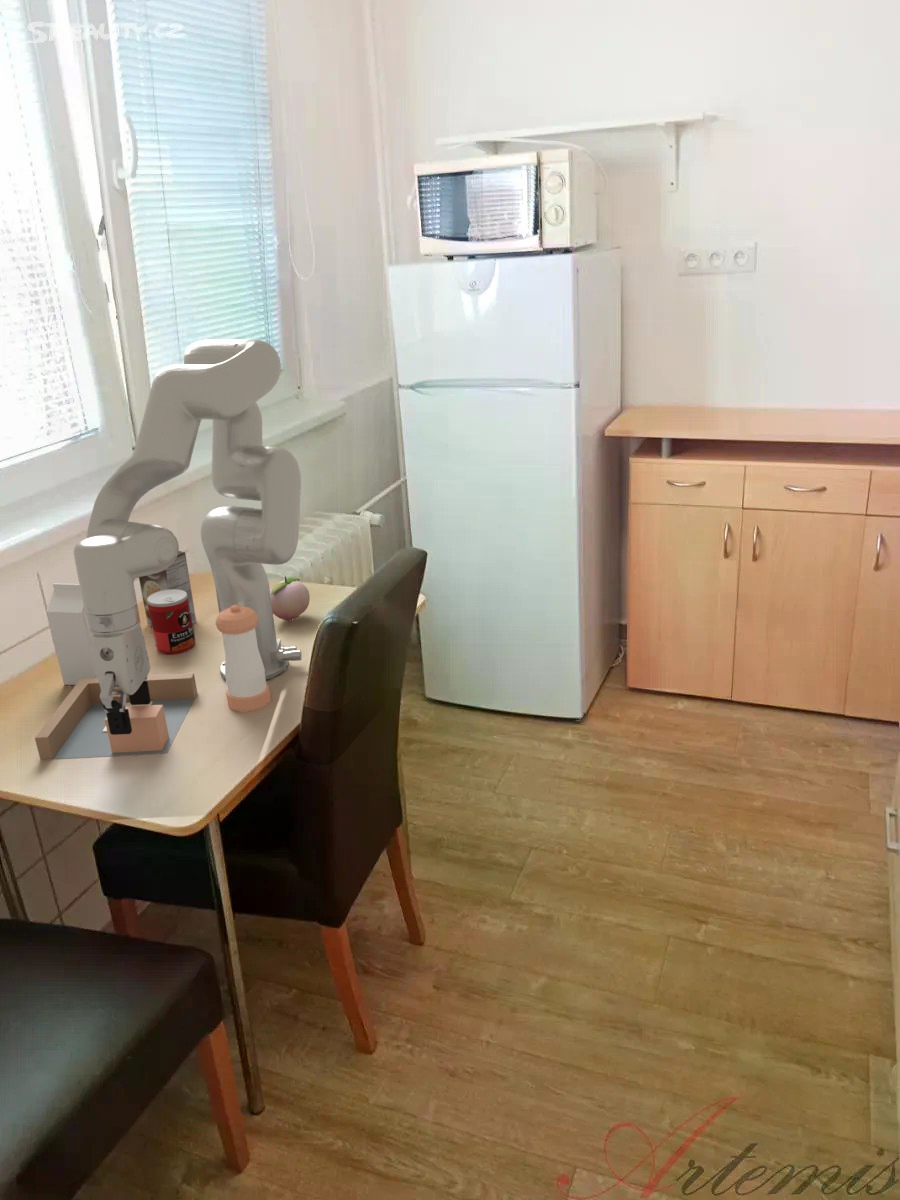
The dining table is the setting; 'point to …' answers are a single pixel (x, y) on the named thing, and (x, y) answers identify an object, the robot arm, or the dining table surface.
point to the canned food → (171, 621)
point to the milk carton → (71, 634)
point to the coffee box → (168, 583)
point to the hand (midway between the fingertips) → (131, 718)
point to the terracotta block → (142, 730)
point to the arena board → (83, 716)
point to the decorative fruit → (289, 598)
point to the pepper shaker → (242, 659)
